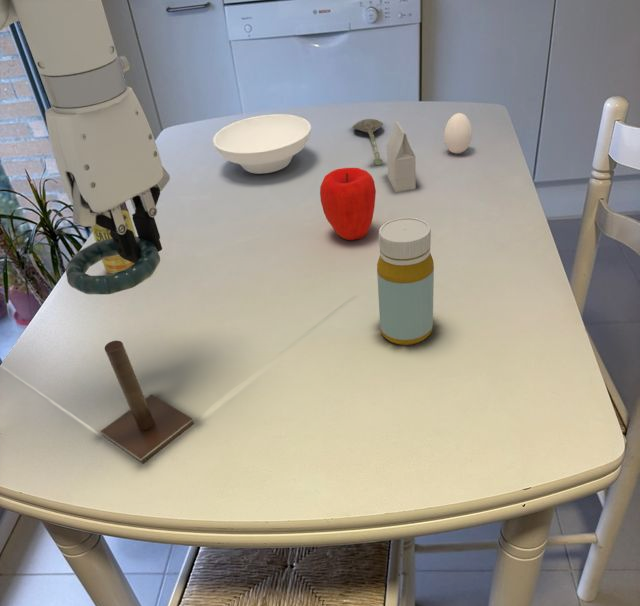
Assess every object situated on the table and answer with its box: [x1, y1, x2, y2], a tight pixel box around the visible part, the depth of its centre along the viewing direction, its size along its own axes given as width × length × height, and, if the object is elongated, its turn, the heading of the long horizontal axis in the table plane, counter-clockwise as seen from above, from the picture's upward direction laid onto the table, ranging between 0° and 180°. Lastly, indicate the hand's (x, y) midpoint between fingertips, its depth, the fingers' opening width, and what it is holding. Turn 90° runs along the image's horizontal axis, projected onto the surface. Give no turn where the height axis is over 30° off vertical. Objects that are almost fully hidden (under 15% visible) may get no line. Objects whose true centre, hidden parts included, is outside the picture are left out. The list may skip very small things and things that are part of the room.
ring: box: [65, 235, 161, 295], centre depth 73 cm, size 10×10×2 cm
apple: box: [319, 167, 377, 241], centre depth 104 cm, size 9×9×11 cm
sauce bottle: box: [90, 201, 137, 275], centre depth 100 cm, size 6×6×20 cm
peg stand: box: [100, 340, 195, 464], centre depth 74 cm, size 8×8×13 cm
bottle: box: [376, 216, 435, 346], centre depth 82 cm, size 7×7×15 cm
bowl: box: [212, 113, 312, 174], centre depth 130 cm, size 20×20×7 cm
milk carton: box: [386, 120, 417, 193], centre depth 116 cm, size 4×7×10 cm, turn 8°
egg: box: [443, 112, 473, 155], centre depth 124 cm, size 5×5×7 cm
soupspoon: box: [352, 118, 384, 166], centre depth 133 cm, size 22×3×7 cm
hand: (142, 253), depth 75 cm, fingers closed on ring, 2 cm apart
